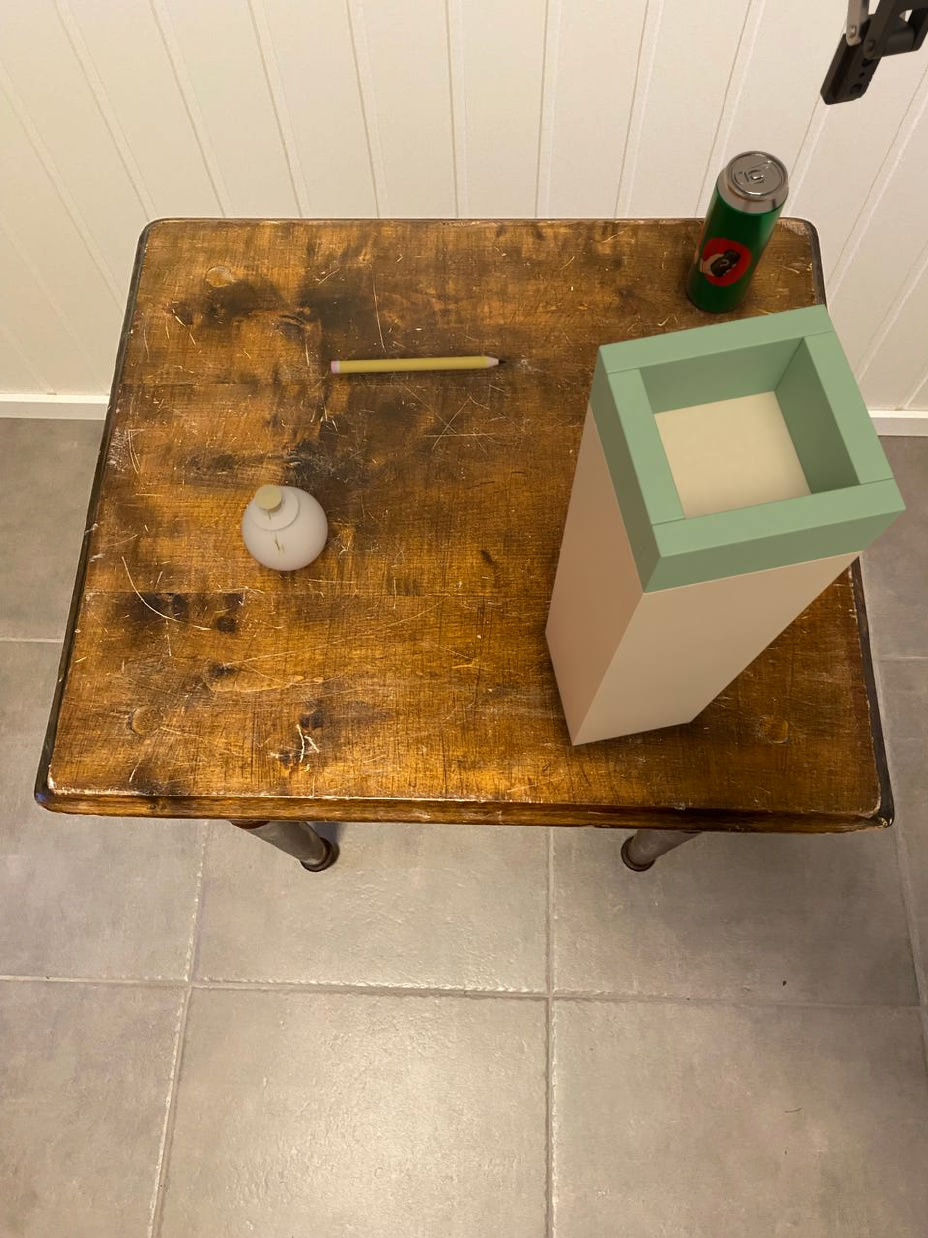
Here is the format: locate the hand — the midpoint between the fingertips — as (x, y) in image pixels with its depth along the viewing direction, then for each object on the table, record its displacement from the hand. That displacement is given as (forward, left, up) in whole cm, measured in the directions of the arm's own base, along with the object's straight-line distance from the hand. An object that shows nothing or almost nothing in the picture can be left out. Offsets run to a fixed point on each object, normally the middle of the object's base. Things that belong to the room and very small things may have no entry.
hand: (812, 42), depth 50 cm
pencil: (+24, 0, -23) cm, 34 cm away
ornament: (+36, +14, -23) cm, 46 cm away
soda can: (-1, -2, -23) cm, 23 cm away
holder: (+15, +28, -23) cm, 40 cm away
